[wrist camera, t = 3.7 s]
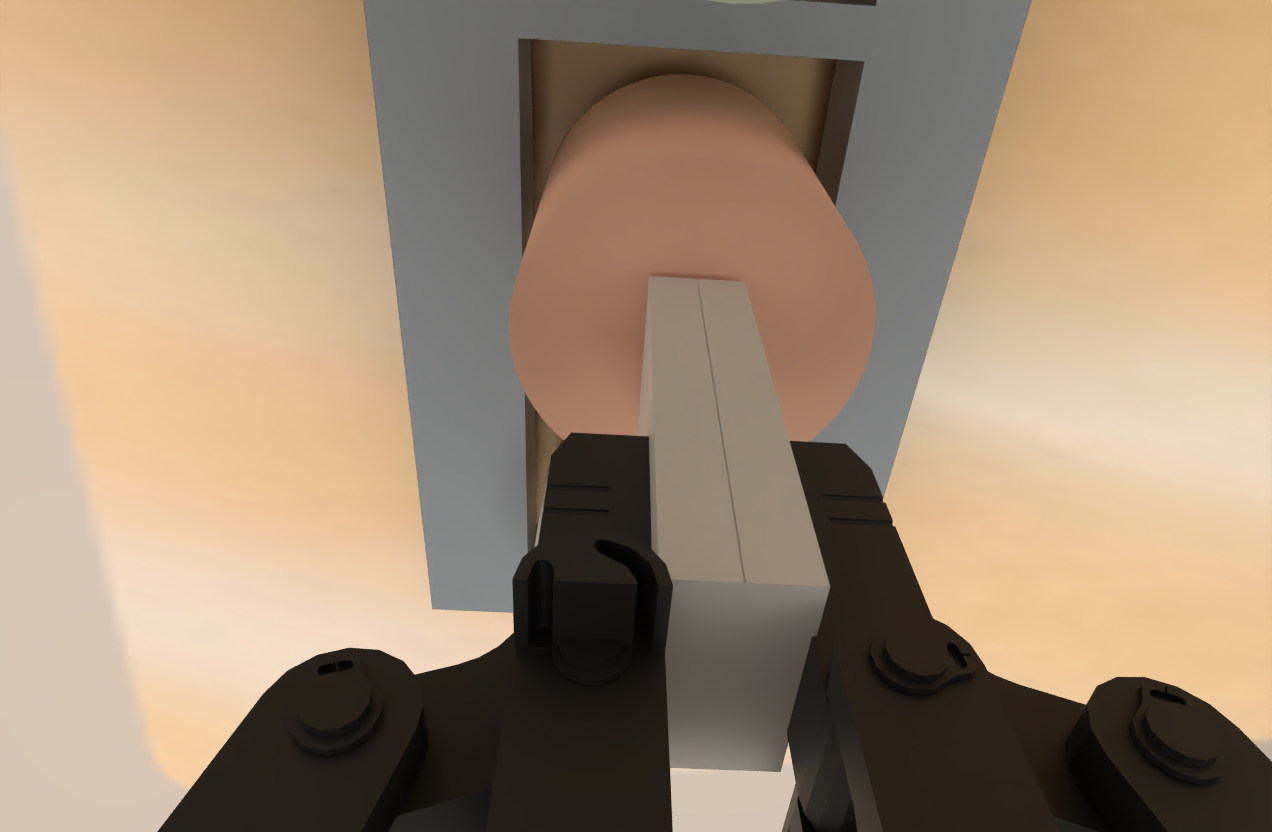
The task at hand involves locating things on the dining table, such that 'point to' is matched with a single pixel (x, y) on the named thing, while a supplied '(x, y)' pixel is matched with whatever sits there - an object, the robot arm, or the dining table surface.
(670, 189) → the pink cylinder
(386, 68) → the board
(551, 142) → the dining table surface
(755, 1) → the pale green round piece
